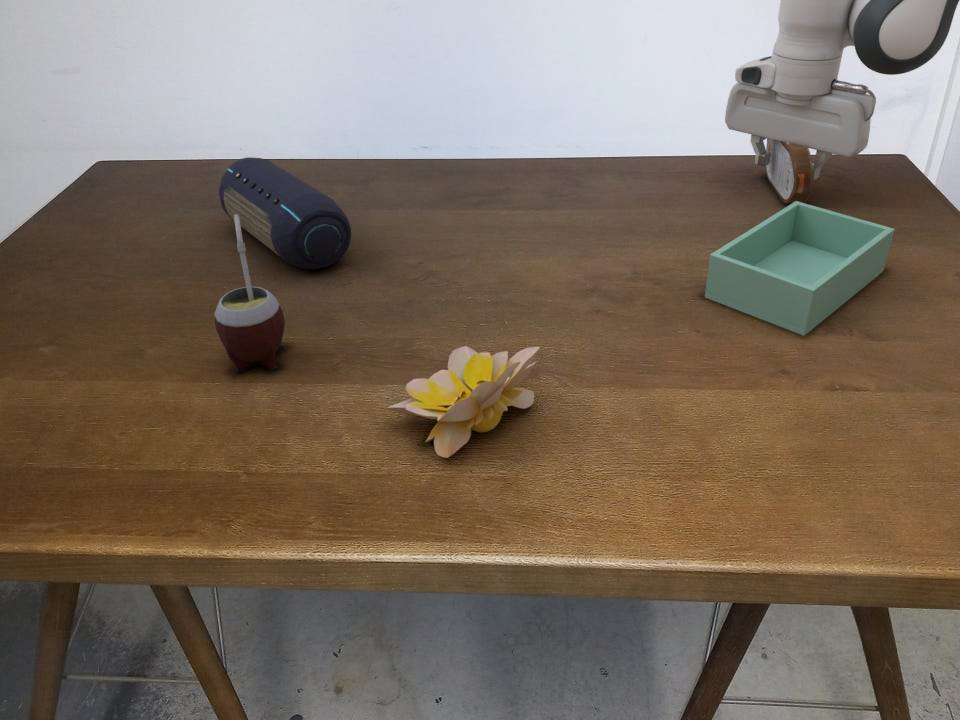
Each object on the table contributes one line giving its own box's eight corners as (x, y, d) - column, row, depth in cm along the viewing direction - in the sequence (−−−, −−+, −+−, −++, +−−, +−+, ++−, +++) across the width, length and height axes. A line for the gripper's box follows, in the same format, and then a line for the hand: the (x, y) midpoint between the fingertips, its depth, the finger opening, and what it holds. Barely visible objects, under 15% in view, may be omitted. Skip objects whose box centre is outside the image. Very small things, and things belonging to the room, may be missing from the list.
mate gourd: (252, 387, 85) (220, 260, 77) (209, 361, 90) (174, 238, 81) (308, 355, 90) (283, 232, 81) (264, 332, 94) (236, 212, 86)
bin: (788, 241, 107) (795, 200, 104) (883, 272, 100) (895, 228, 96) (704, 298, 96) (709, 254, 93) (803, 337, 89) (813, 290, 85)
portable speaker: (218, 226, 119) (201, 160, 114) (280, 206, 124) (267, 142, 118) (296, 289, 102) (281, 216, 97) (364, 264, 107) (354, 193, 102)
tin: (809, 212, 114) (820, 154, 109) (786, 213, 114) (796, 155, 110) (778, 172, 127) (788, 118, 122) (758, 172, 127) (766, 119, 122)
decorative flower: (487, 343, 87) (493, 273, 80) (561, 408, 82) (575, 339, 74) (372, 411, 80) (367, 341, 73) (445, 487, 75) (448, 419, 67)
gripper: (889, 82, 106) (866, 182, 114) (749, 57, 119) (736, 149, 127) (868, 93, 103) (844, 196, 111) (725, 67, 115) (713, 161, 123)
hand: (786, 171), depth 119 cm, fingers open, 6 cm apart
